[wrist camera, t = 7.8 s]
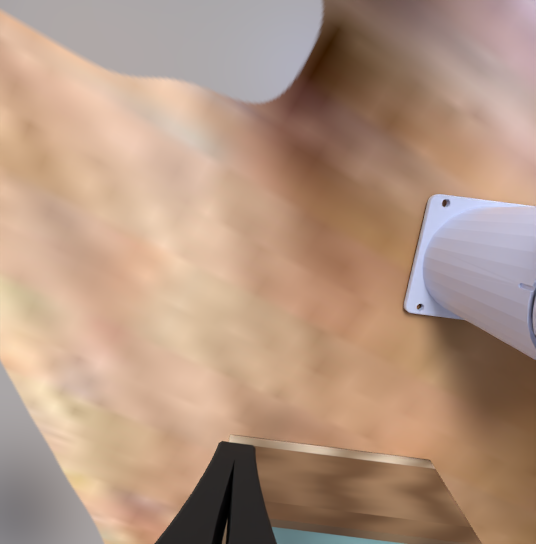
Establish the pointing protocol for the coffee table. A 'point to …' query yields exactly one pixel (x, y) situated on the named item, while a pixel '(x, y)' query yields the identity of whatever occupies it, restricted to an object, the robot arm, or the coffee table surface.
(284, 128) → the coffee table surface
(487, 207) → the robot arm
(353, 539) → the lid
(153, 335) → the coffee table surface
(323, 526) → the box
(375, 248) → the coffee table surface
